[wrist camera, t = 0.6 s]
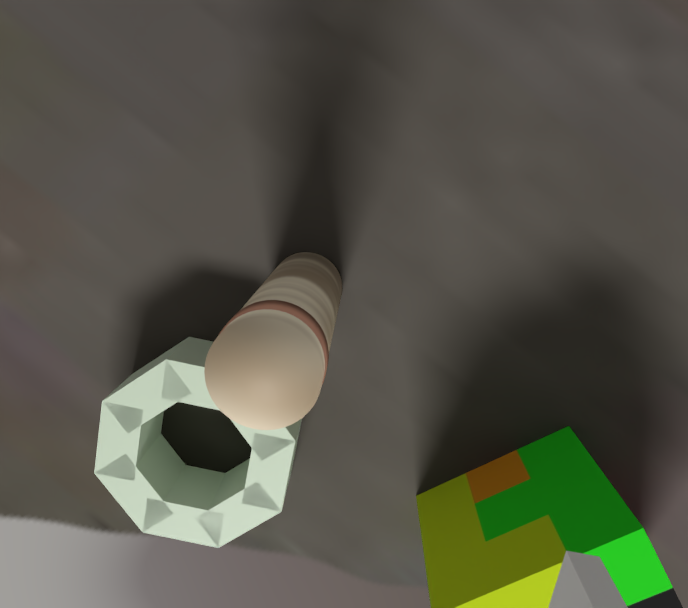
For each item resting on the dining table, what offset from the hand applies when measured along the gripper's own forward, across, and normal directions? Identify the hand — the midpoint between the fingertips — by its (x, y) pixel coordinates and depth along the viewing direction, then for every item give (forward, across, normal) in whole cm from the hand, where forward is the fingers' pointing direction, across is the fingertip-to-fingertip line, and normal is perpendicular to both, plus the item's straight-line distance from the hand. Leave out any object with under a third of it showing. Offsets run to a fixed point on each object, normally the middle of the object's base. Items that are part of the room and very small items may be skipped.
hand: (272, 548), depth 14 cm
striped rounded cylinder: (+21, -2, +1) cm, 21 cm away
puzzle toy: (+21, +14, -11) cm, 28 cm away
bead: (+21, -6, -8) cm, 23 cm away
